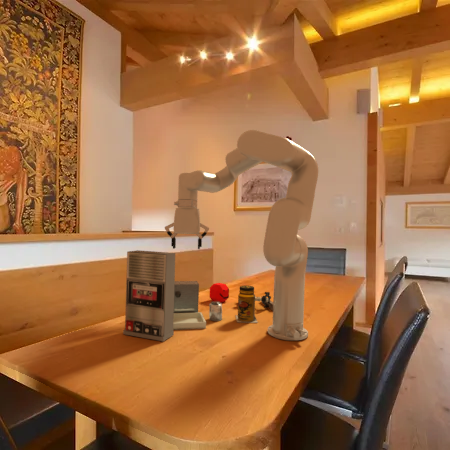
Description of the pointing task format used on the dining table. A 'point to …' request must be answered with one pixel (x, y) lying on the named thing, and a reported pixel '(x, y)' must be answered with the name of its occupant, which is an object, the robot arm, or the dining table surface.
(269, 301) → the valve
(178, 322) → the tray
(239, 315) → the condiment
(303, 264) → the robot arm
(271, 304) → the valve rest
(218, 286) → the ball
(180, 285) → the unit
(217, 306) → the cylinder
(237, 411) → the dining table surface
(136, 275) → the cassette tape recorder
